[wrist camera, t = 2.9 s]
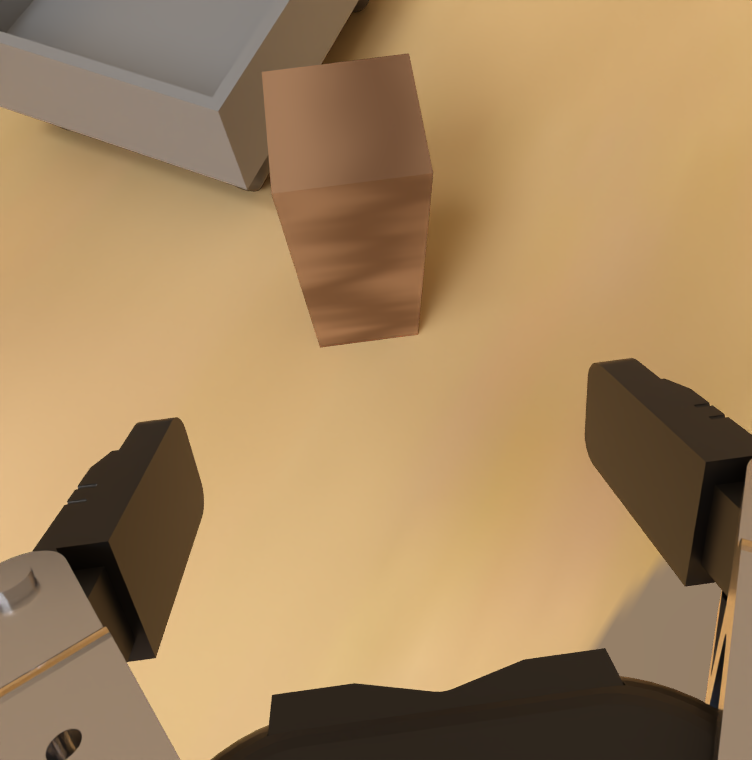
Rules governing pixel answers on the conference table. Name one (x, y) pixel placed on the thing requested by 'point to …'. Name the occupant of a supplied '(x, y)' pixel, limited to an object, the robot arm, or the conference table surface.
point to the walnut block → (352, 192)
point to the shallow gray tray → (163, 72)
